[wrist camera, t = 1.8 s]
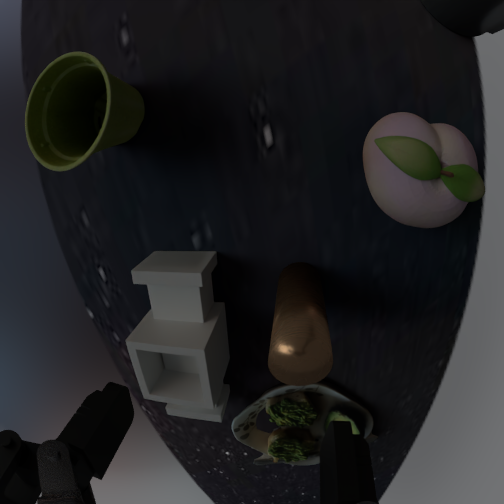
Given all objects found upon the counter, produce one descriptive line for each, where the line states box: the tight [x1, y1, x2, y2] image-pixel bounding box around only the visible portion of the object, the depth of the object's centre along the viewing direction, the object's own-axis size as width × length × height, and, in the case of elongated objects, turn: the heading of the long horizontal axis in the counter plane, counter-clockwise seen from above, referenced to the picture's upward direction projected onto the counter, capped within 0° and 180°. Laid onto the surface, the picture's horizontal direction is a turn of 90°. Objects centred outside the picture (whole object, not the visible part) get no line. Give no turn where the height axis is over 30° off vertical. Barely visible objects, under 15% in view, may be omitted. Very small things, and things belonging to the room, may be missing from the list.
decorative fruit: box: [363, 112, 485, 228], centre depth 20 cm, size 9×8×10 cm
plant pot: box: [25, 52, 145, 171], centre depth 22 cm, size 9×9×9 cm
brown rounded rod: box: [268, 262, 333, 386], centre depth 24 cm, size 4×4×12 cm
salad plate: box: [231, 380, 379, 465], centre depth 35 cm, size 19×18×5 cm
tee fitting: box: [126, 251, 230, 422], centre depth 29 cm, size 7×18×8 cm, turn 2°
